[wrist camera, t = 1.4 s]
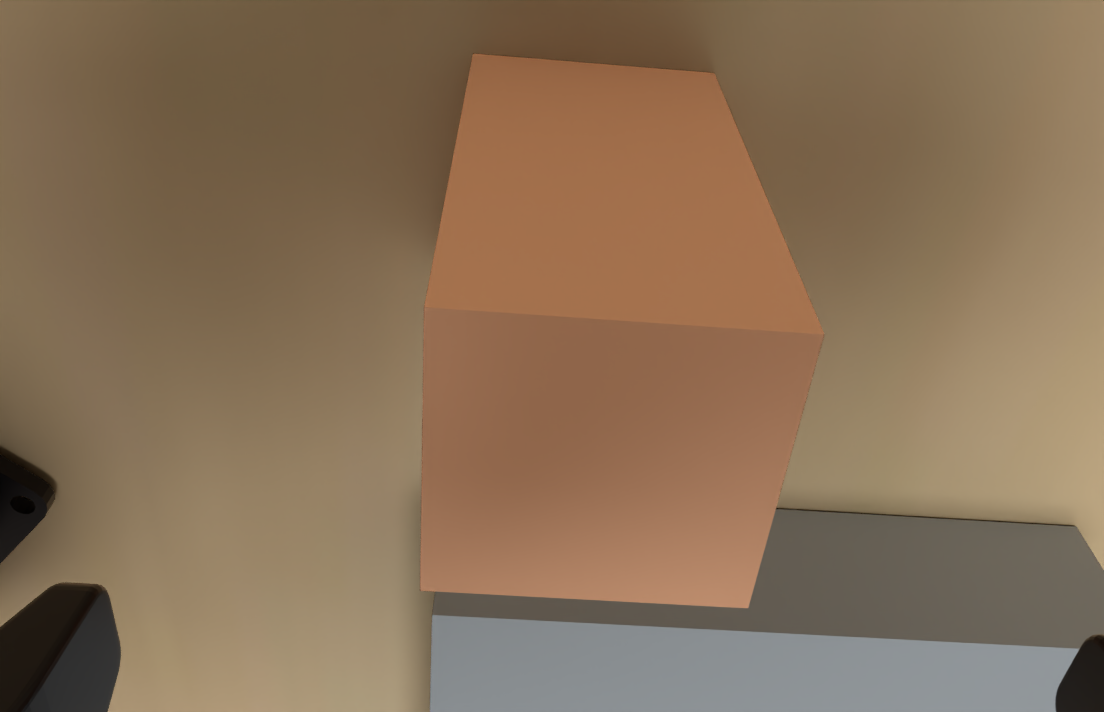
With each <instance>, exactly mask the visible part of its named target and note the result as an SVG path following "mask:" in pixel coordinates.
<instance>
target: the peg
mask: <svg viewBox="0 0 1104 712" xmlns="http://www.w3.org/2000/svg"><path fill="white" fill-rule="evenodd" d="M823 338H824V332H823V330H822V327H821V325H820V323H819V320H818V318H817V316H816V313H815V311H814V309H813V306H812V304H811V301H810V299H809V297H808V294H807V292H806V290H805V287H804V285H803V282H802V280H801V278H800V275H799V273H798V271H797V268H796V266H795V263H794V261H793V259H792V256H791V254H790V252H789V249H788V247H787V244H786V242H785V240H784V237H783V235H782V233H781V230H780V228H779V226H778V223H777V221H776V218H775V216H774V214H773V211H772V209H771V207H770V204H769V202H768V199H767V197H766V195H765V192H764V190H763V188H762V185H761V183H760V180H759V178H758V176H757V173H756V171H755V169H754V166H753V164H752V161H751V159H750V157H749V154H748V152H747V150H746V147H745V145H744V142H743V140H742V138H741V135H740V133H739V131H738V128H737V126H736V124H735V121H734V119H733V116H732V114H731V112H730V109H729V107H728V105H727V102H726V100H725V97H724V95H723V93H722V90H721V88H720V86H719V83H718V81H717V78H716V76H715V74H714V73H709V72H696V71H684V70H671V69H659V68H647V67H634V66H622V65H610V64H597V63H585V62H573V61H560V60H548V59H535V58H523V57H511V56H498V55H486V54H474V53H473V56H472V61H471V66H470V72H469V77H468V82H467V87H466V92H465V97H464V103H463V108H462V113H461V118H460V123H459V129H458V134H457V139H456V144H455V149H454V155H453V160H452V165H451V170H450V175H449V180H448V186H447V191H446V196H445V201H444V206H443V212H442V217H441V222H440V227H439V232H438V238H437V243H436V248H435V253H434V258H433V263H432V269H431V274H430V279H429V284H428V289H427V295H426V300H425V305H424V347H423V419H422V490H421V561H420V591H435V592H453V593H472V594H490V595H509V596H527V597H546V598H564V599H583V600H601V601H620V602H639V603H657V604H676V605H694V606H713V607H731V608H748V607H749V603H750V600H751V596H752V593H753V589H754V585H755V582H756V578H757V575H758V571H759V568H760V564H761V560H762V557H763V553H764V550H765V546H766V542H767V539H768V535H769V532H770V528H771V524H772V521H773V517H774V514H775V510H776V507H777V503H778V499H779V496H780V492H781V489H782V485H783V481H784V478H785V474H786V471H787V467H788V463H789V460H790V456H791V453H792V449H793V446H794V442H795V438H796V435H797V431H798V428H799V424H800V420H801V417H802V413H803V410H804V406H805V402H806V399H807V395H808V392H809V388H810V385H811V381H812V377H813V374H814V370H815V367H816V363H817V359H818V356H819V352H820V349H821V345H822V341H823Z"/></svg>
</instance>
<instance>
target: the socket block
mask: <svg viewBox="0 0 1104 712" xmlns="http://www.w3.org/2000/svg"><path fill="white" fill-rule="evenodd" d="M1095 634H1104V570H1103V569H1102V567H1101V565H1100V564H1099V562H1098V561H1097V559H1096V557H1095V556H1094V554H1093V553H1092V551H1091V549H1090V548H1089V546H1088V545H1087V543H1086V541H1085V540H1084V538H1083V536H1082V535H1081V533H1080V532H1079V530H1078V528H1077V527H1075V526H1058V525H1041V524H1024V523H1007V522H989V521H972V520H955V519H938V518H921V517H904V516H887V515H870V514H853V513H836V512H818V511H801V510H784V509H776V510H775V514H774V517H773V521H772V524H771V528H770V532H769V535H768V539H767V542H766V546H765V550H764V553H763V557H762V560H761V564H760V568H759V571H758V575H757V578H756V582H755V585H754V589H753V593H752V596H751V600H750V603H749V607H748V608H731V607H713V606H694V605H676V604H657V603H639V602H620V601H601V600H583V599H564V598H546V597H527V596H509V595H490V594H472V593H453V592H435V596H434V604H433V612H432V643H431V685H430V712H1056V708H1055V698H1056V693H1057V689H1058V686H1059V684H1060V682H1061V681H1062V679H1063V677H1064V675H1065V674H1066V672H1067V670H1068V668H1069V666H1070V665H1071V663H1072V661H1073V659H1074V658H1075V656H1076V654H1077V652H1078V650H1079V649H1080V647H1081V645H1082V643H1083V642H1084V641H1085V640H1086V639H1087V638H1088V637H1090V636H1092V635H1095Z"/></svg>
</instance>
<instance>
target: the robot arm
mask: <svg viewBox="0 0 1104 712" xmlns="http://www.w3.org/2000/svg"><path fill="white" fill-rule="evenodd" d="M22 496H24V497H27V498H29V499H30V500H31V501H30V500H27V499H24V498H23V497H22ZM54 500H55V494H54V491H53V489H52V488H51V486H50V485H49V484H48V483H47V482H45V481H44V480H43V479H41V478H39V477H38V476H36V475H34V474H32V473H31V472H29V471H27V470H26V469H24V468H22V467H20V466H19V465H17V464H15V463H14V462H12V461H10V460H9V459H7V458H5V457H3V456H2V455H0V563H1V562H2V561H3V560H4V559H5V558H6V557H7V556H8V555H9V554H10V553H11V552H12V551H13V550H14V549H15V548H16V547H17V545H18V544H19V543H20V542H21V541H22V540H23V539H24V538H25V537H26V536H27V535H28V534H29V533H30V532H31V531H32V530H33V529H34V528H35V527H36V526H37V525H38V524H39V522H40V521H41V520H42V519H43V518H44V517H45V516H46V514H47V512H48V510H49V509H50V507H51V505H52V504H53V502H54ZM120 659H121V646H120V641H119V636H118V632H117V628H116V623H115V619H114V615H113V610H112V606H111V602H110V597H109V595H108V592H107V590H106V589H105V588H104V587H103V586H102V585H98V584H86V583H58V584H55V585H53V586H51V587H49V588H48V589H47V590H45V591H44V592H43V593H42V594H40V595H39V596H38V597H37V598H36V599H34V600H33V601H32V602H31V603H29V604H28V605H27V606H26V607H24V608H23V609H22V610H21V611H20V612H18V613H17V614H16V615H15V616H13V617H12V618H11V619H10V620H8V621H7V622H6V623H5V624H4V625H2V626H1V627H0V712H108V708H109V705H110V701H111V697H112V694H113V690H114V687H115V683H116V679H117V676H118V672H119V667H120ZM1055 708H1056V712H1104V634H1095V635H1092V636H1090V637H1088V638H1087V639H1086V640H1085V641H1084V642H1083V643H1082V645H1081V647H1080V649H1079V650H1078V652H1077V654H1076V656H1075V658H1074V659H1073V661H1072V663H1071V665H1070V666H1069V668H1068V670H1067V672H1066V674H1065V675H1064V677H1063V679H1062V681H1061V682H1060V684H1059V686H1058V689H1057V693H1056V698H1055Z"/></svg>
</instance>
